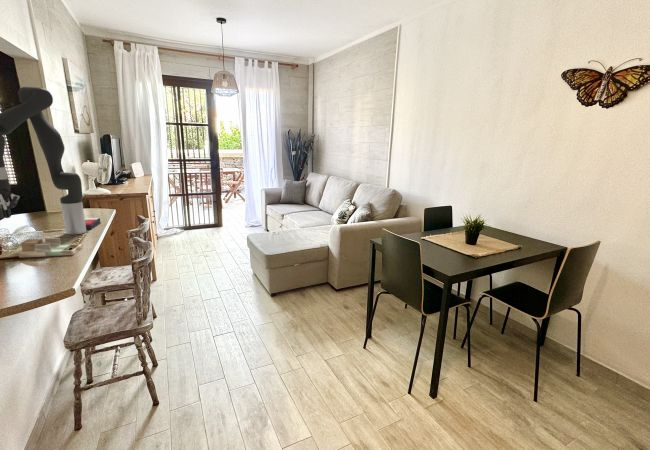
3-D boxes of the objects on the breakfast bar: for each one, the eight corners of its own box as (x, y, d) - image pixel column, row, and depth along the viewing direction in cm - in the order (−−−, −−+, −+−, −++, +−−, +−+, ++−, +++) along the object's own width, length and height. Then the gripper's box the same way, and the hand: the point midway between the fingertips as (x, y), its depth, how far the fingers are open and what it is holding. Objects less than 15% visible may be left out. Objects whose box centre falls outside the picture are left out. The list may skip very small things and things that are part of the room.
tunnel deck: (31, 250, 150) (29, 239, 149) (83, 247, 156) (81, 237, 155) (19, 257, 141) (16, 245, 139) (74, 254, 147) (72, 243, 145)
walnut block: (29, 247, 148) (27, 239, 147) (44, 247, 149) (42, 238, 148) (22, 251, 143) (20, 243, 142) (37, 250, 144) (35, 242, 143)
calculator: (68, 224, 181) (78, 217, 195) (69, 232, 183) (80, 224, 196) (90, 224, 185) (99, 216, 198) (91, 231, 186) (100, 223, 199)
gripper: (21, 177, 141) (28, 215, 145) (-19, 176, 137) (-10, 216, 141) (10, 179, 134) (18, 219, 138) (-32, 179, 130) (-22, 220, 134)
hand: (4, 217), depth 140 cm, fingers closed
